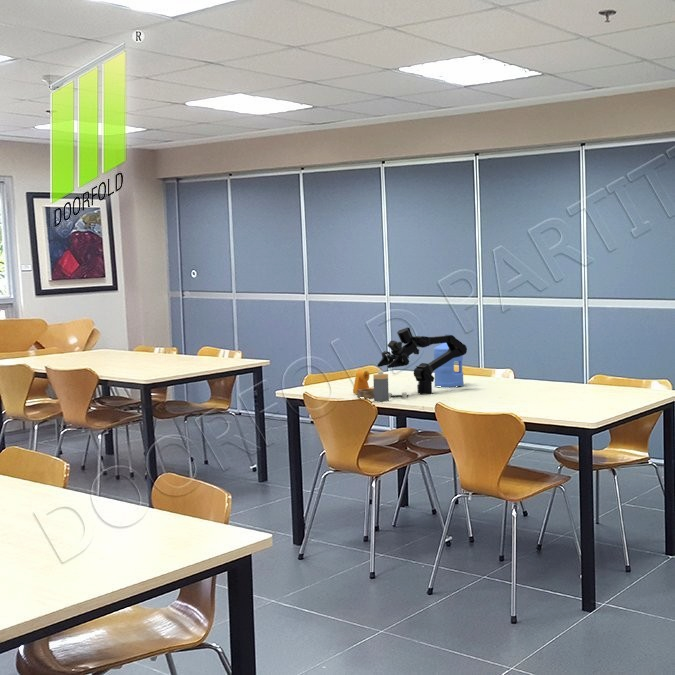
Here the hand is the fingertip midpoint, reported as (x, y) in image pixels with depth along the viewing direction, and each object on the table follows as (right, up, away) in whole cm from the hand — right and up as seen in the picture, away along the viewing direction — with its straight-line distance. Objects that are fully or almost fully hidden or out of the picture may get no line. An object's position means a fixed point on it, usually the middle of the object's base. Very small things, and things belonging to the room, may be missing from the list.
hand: (382, 366), depth 456 cm
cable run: (+6, -15, +4) cm, 17 cm away
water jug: (+38, -12, +41) cm, 57 cm away
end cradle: (-7, -16, +5) cm, 18 cm away
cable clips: (+7, -15, +3) cm, 17 cm away
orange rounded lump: (-8, -15, +20) cm, 26 cm away
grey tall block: (-1, -16, -10) cm, 19 cm away
